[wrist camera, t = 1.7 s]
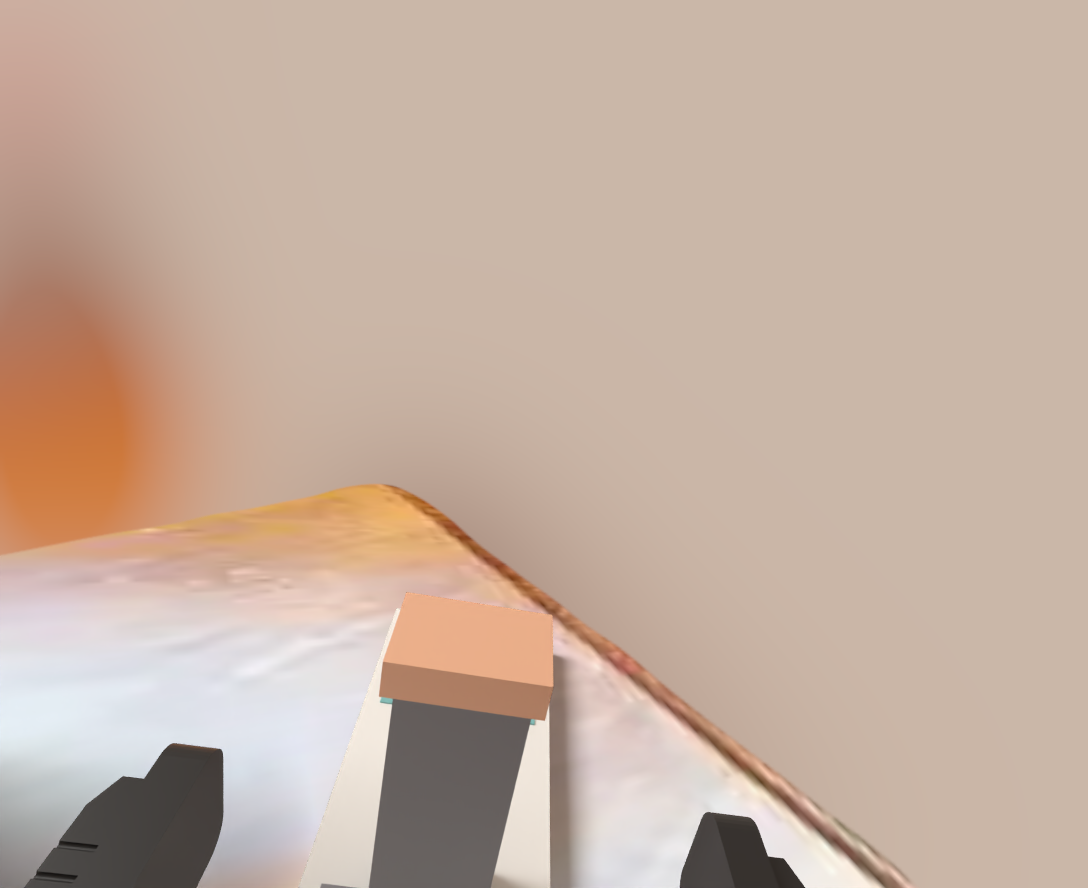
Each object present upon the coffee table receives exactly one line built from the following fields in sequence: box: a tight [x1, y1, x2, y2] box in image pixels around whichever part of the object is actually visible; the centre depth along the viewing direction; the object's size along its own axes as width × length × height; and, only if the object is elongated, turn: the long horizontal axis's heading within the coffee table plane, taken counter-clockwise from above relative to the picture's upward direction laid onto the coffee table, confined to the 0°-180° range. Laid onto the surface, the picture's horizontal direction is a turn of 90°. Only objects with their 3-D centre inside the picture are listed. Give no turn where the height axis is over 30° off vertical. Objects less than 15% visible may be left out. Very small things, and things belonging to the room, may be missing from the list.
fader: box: [369, 592, 553, 888], centre depth 27 cm, size 6×4×16 cm, turn 89°
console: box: [298, 608, 550, 888], centre depth 38 cm, size 12×26×2 cm, turn 0°
